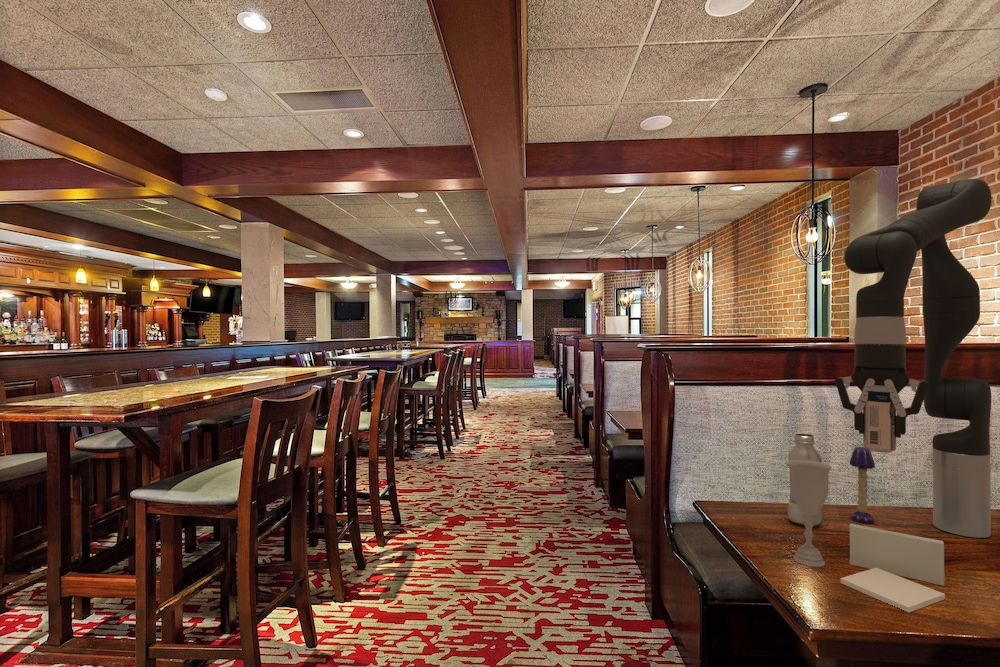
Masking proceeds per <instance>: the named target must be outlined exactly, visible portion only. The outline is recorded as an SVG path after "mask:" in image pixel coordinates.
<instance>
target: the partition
mask: <svg viewBox="0 0 1000 667" xmlns="http://www.w3.org/2000/svg"><path fill="white" fill-rule="evenodd" d="M849 565H852V566H856V567H860V568H865V569H868V570H870V569H873V568H879V569H881V570H884V571H887V572H889V573H892V574H894V575H897V576H900V577H903V578H909V579H912V580H917V581H922V582H925V583H930V584H934V585H939V586H943V587H944V586H945V544H944V541H943V540H938V539H934V538H929V537H924V536H923V537H922V536H917V535H913V534H906V533H902V532H895V531H891V530H885V529H881V528H876V527H869V526H865V525H860V524H854V523H850V524H849Z"/></svg>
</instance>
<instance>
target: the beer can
mask: <svg viewBox="0 0 1000 667" xmlns="http://www.w3.org/2000/svg"><path fill="white" fill-rule="evenodd" d="M866 391H867V390H866ZM890 392H891V391H889V390H888V389H887V388H886V386H878V385H874V386H873V388H871V389H869V390H868V399H867V401H866V404H865V406H864V408H863V414H864V434H862V436H863V437H862V438H863V439H862V440H863V441H862V445H863V446H862V447H864V448H866V449H868V450H870V451H871V452H876V453H887V454H888V453H893V452H894V451H896V450H897V437H896V416H897V411H896V409H895V407H894V404H893V402H892V400H891V397H890ZM892 393H894V392H892ZM864 396H866V395H864ZM894 398H896V397H894Z"/></svg>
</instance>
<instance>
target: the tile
mask: <svg viewBox="0 0 1000 667" xmlns="http://www.w3.org/2000/svg"><path fill="white" fill-rule="evenodd" d="M840 584H842V585H844V586H847V587H849V588H851V589H853V590H856V591H858V592H860V593H862V594H865V595H867V596H870V597H871V598H873V599H877V600H879V601H880V602H883V603H886V604H887V603H888V604H887V605H890V606H892V605H893V606H892V607H894V606H895V607H894V608H897V607H898V608H897V609H899V608H900V609H899V610H901V609H902V610H901V611H903V610H904V612H906V613H908V614H909V613H911V612H915V611H917V610H920V609H923V608H925V607H927V606H930V605H933V604H936V603H939V602H941V601H943V600H946V593H943V592H940V591H938V590H936V589H933V588H931V587H928V586H925V585H922V584H920V583H917V582H915V581H913V580H909V579H907V578H906V577H903V576H899V575H895V574H892V573H889V572H887V571H884V570H881V569H879V568H873V569H866V570H864V571H859V572H857V573H853V574H850V575H847V576H844V577H841V578H840Z"/></svg>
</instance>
